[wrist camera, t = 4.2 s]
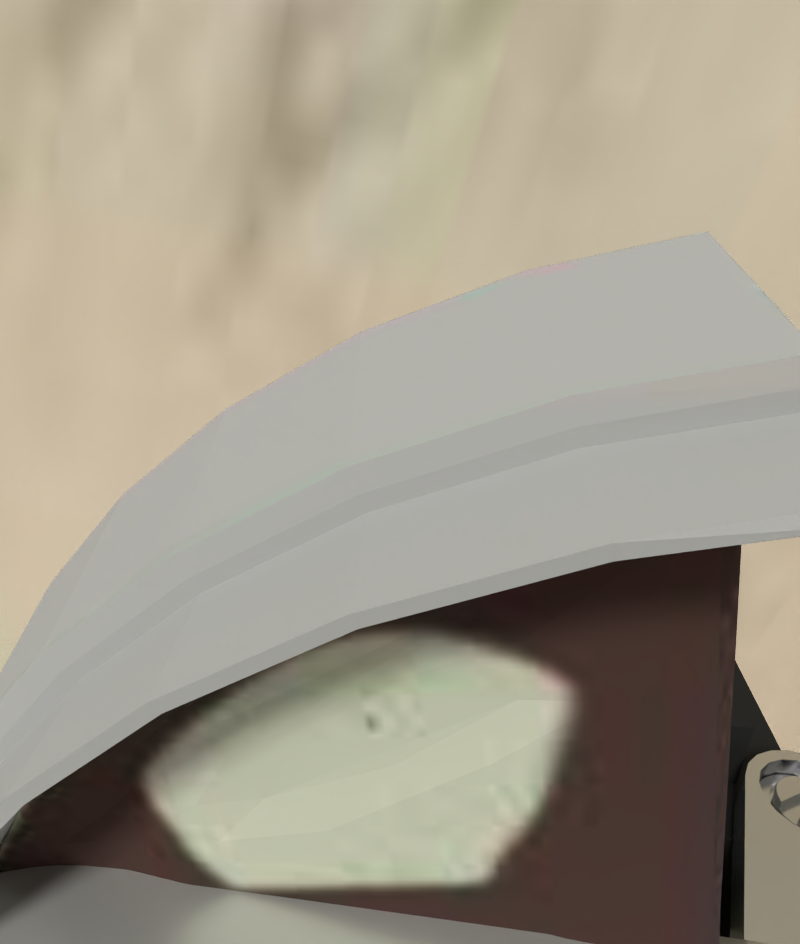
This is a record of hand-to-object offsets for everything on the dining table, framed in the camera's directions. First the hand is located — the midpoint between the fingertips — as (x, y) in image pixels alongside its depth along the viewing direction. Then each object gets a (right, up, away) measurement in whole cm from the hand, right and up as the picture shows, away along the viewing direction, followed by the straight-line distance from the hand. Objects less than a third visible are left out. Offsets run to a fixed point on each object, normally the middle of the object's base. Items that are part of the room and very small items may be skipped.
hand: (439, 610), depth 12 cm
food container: (0, +1, +2) cm, 2 cm away
